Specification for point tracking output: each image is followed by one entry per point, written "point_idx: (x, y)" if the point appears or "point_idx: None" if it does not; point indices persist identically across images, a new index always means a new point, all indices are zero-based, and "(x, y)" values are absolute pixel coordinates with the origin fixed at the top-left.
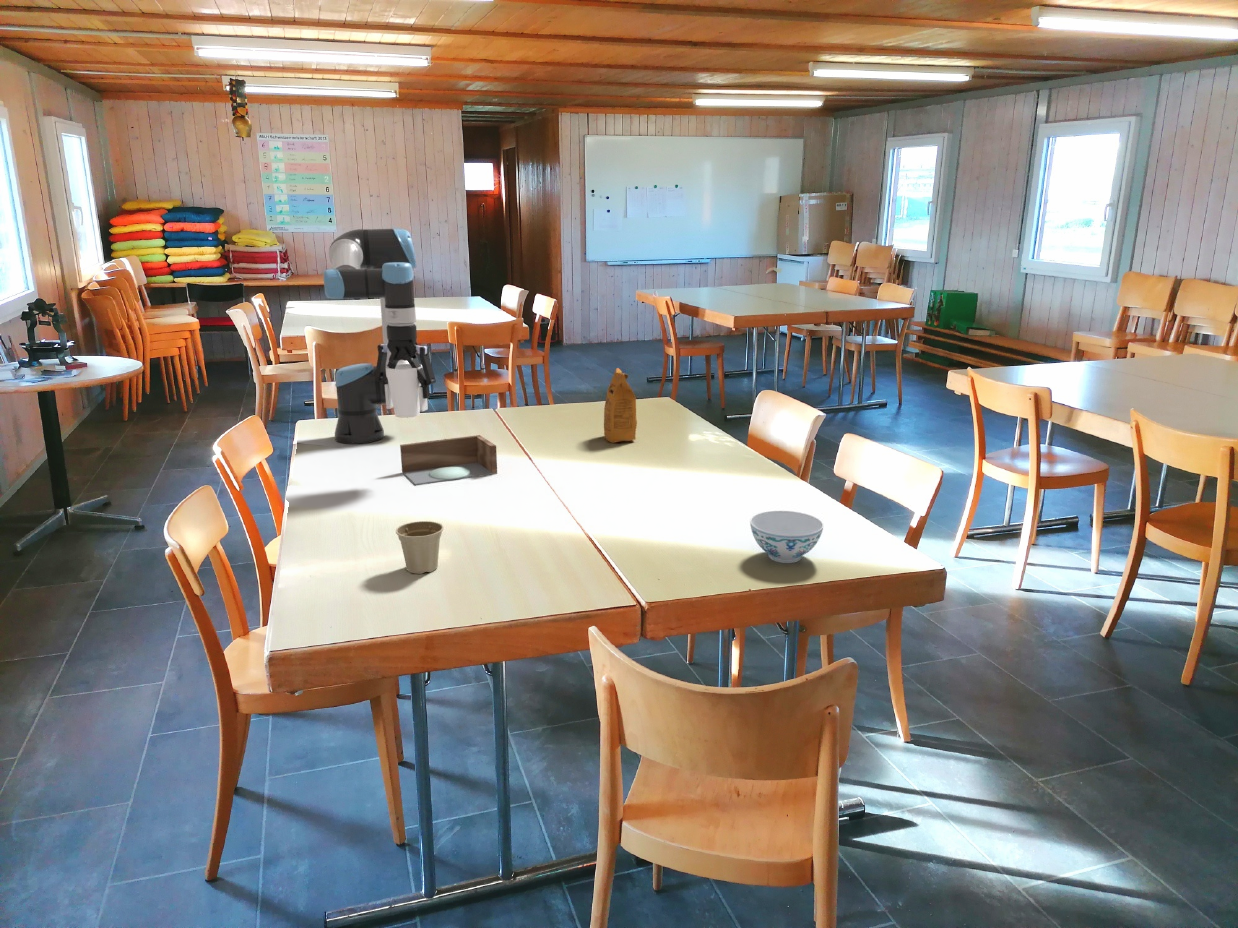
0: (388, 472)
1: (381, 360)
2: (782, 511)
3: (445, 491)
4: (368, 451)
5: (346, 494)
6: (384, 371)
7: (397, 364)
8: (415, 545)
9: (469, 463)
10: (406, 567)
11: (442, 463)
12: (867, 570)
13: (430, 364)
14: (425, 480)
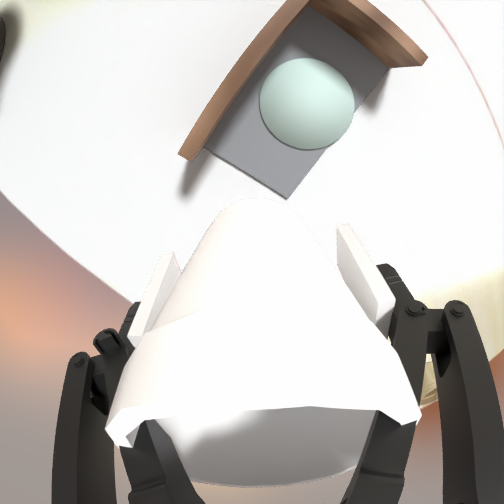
0: (166, 155)
1: (115, 492)
2: None
3: (363, 201)
4: (30, 84)
5: None
6: (85, 397)
7: (126, 435)
8: (431, 394)
9: (297, 19)
10: None
11: (257, 67)
12: None
13: (495, 409)
14: (291, 170)
